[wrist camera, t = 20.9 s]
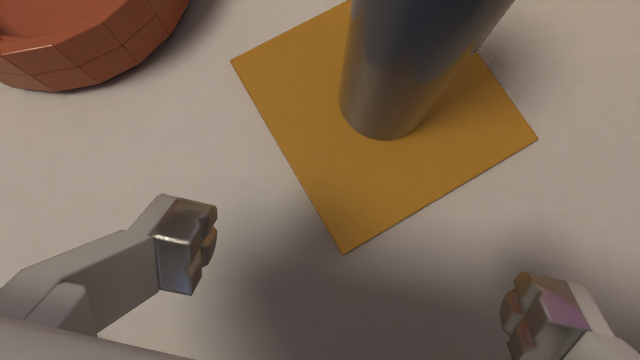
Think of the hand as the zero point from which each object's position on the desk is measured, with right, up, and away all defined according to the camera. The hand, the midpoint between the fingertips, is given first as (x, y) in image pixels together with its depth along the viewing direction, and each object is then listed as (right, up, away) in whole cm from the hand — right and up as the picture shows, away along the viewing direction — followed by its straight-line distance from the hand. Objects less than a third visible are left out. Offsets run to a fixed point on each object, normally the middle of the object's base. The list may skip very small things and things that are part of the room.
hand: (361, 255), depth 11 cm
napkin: (+2, +6, +9) cm, 11 cm away
